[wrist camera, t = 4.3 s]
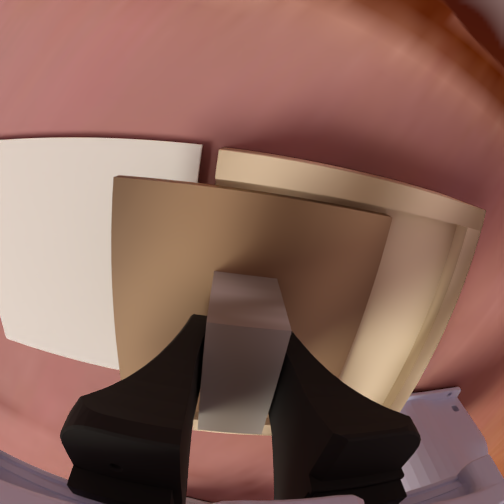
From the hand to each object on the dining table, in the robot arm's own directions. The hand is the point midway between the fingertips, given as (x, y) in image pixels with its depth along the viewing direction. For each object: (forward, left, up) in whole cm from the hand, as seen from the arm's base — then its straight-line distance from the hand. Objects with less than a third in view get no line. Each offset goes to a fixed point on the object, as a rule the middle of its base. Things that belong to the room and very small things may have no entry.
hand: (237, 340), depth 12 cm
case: (-4, 0, -5) cm, 7 cm away
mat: (+10, 0, -5) cm, 11 cm away
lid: (0, 0, -1) cm, 1 cm away
